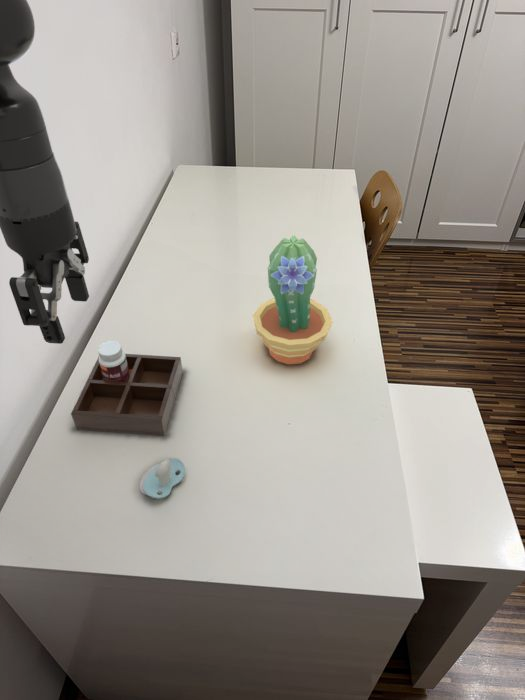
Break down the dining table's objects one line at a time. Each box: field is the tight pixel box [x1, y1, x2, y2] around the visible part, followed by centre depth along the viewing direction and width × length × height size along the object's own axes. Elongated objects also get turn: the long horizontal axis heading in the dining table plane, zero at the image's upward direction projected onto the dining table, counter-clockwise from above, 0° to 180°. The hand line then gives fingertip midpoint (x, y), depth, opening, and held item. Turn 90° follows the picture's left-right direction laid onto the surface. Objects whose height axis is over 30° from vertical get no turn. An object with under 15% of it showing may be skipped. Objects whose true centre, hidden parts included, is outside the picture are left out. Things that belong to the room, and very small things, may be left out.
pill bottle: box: [97, 340, 130, 382], centre depth 91 cm, size 5×5×8 cm
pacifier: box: [138, 458, 186, 500], centre depth 76 cm, size 7×6×6 cm
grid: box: [70, 353, 184, 436], centre depth 90 cm, size 15×15×4 cm
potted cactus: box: [252, 235, 333, 365], centre depth 93 cm, size 16×15×25 cm
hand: (69, 319), depth 64 cm, fingers open, 8 cm apart
